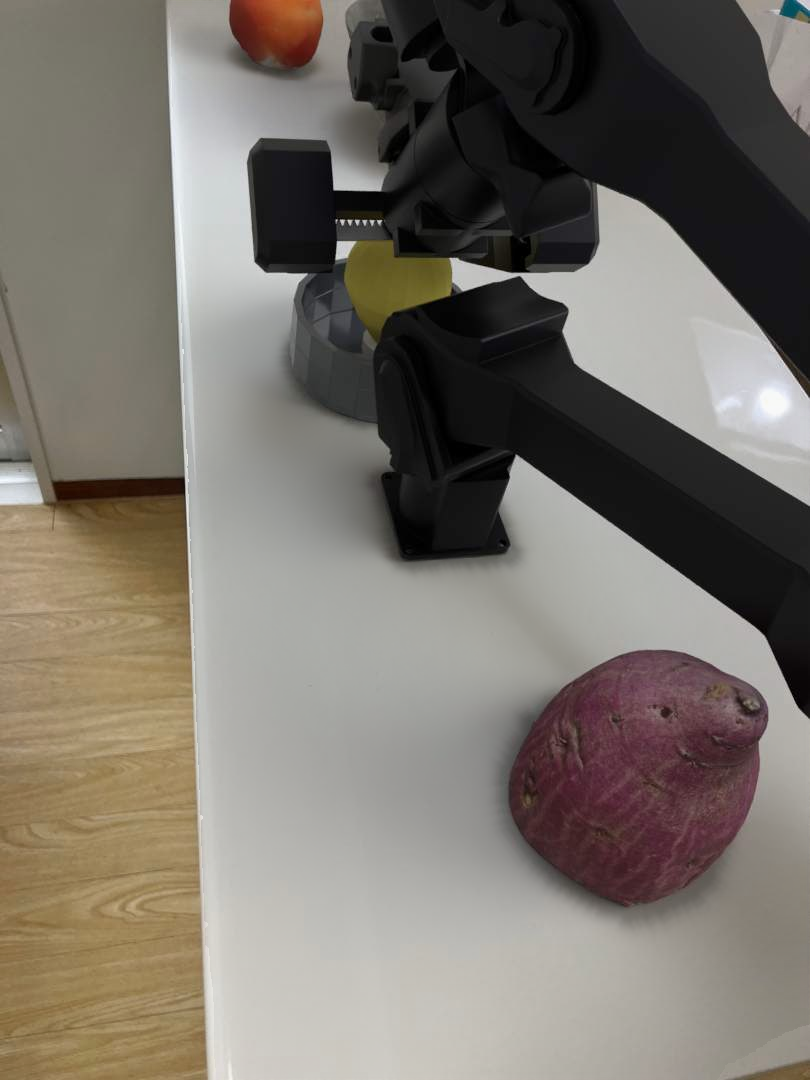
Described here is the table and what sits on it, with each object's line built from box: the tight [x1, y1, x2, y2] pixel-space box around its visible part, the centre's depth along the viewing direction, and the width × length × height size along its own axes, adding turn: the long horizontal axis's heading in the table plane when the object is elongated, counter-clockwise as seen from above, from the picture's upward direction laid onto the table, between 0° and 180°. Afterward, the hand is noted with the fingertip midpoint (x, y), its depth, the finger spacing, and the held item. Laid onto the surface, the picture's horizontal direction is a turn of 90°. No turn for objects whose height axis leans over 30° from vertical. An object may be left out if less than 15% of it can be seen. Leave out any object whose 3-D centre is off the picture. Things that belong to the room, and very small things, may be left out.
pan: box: [289, 257, 463, 424], centre depth 58 cm, size 12×12×4 cm
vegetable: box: [508, 649, 769, 908], centre depth 36 cm, size 10×10×15 cm
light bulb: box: [344, 223, 453, 360], centre depth 55 cm, size 7×7×10 cm
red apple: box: [228, 0, 324, 71], centre depth 86 cm, size 9×9×8 cm
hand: (390, 251), depth 55 cm, fingers open, 9 cm apart
